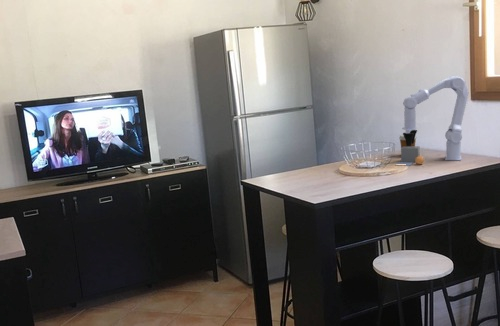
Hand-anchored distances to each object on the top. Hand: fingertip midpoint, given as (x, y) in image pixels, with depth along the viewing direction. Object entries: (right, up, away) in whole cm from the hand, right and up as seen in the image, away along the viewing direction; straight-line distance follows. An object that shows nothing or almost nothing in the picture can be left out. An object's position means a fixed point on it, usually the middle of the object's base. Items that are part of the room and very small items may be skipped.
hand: (410, 144), depth 288 cm
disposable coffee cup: (+4, -6, +16) cm, 18 cm away
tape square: (-5, -10, -4) cm, 12 cm away
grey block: (+1, -9, +2) cm, 9 cm away
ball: (+2, -8, -8) cm, 12 cm away
